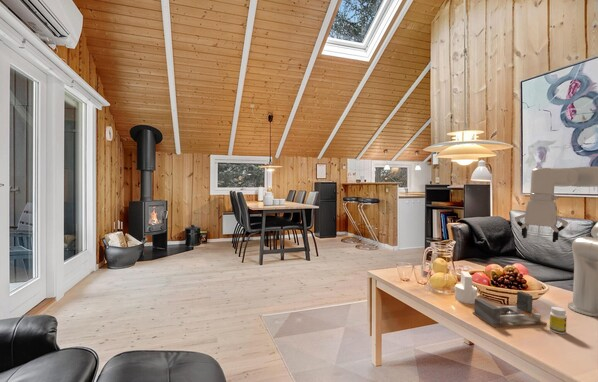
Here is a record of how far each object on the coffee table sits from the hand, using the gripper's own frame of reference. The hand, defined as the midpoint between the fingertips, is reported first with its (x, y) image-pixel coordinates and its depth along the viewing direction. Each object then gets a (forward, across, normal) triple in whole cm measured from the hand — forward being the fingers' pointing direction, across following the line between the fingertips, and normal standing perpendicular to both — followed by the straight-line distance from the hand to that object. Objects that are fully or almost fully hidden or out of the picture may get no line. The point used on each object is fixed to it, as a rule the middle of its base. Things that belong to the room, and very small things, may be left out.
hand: (539, 239), depth 124 cm
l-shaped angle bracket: (+31, +3, +10) cm, 33 cm away
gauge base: (+32, +6, +12) cm, 35 cm away
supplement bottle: (+32, -9, +10) cm, 34 cm away
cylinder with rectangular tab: (+32, +25, +4) cm, 41 cm away
